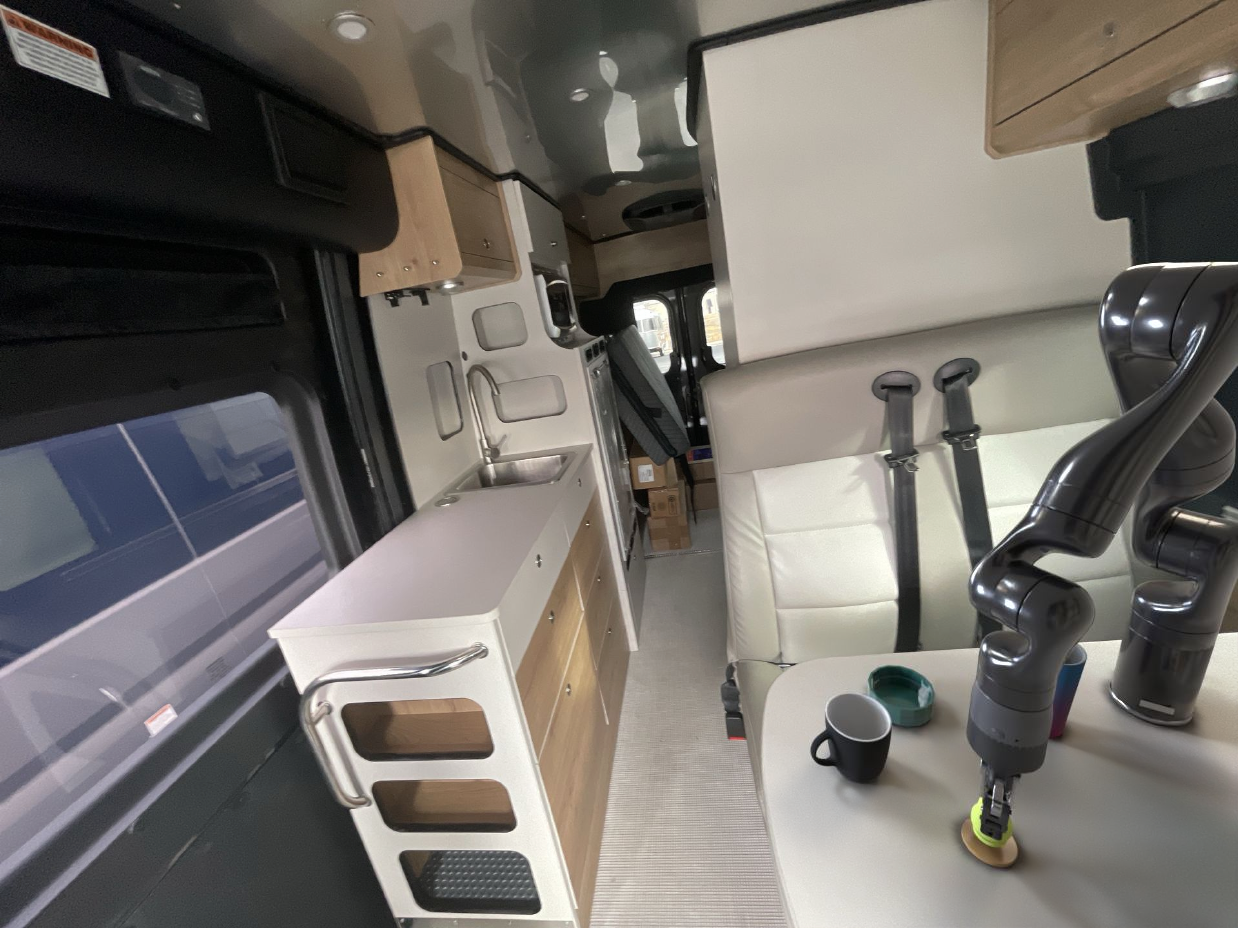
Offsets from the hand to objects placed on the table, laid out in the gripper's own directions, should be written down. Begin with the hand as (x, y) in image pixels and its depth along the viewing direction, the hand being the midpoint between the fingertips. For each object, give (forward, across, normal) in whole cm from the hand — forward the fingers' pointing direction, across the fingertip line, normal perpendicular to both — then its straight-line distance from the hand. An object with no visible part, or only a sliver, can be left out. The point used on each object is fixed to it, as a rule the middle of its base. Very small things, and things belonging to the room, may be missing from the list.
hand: (992, 817), depth 67 cm
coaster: (+5, 0, 0) cm, 5 cm away
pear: (+3, 0, 0) cm, 3 cm away
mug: (+5, +2, +18) cm, 19 cm away
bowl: (+5, +18, +14) cm, 23 cm away
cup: (+5, +24, -5) cm, 25 cm away
